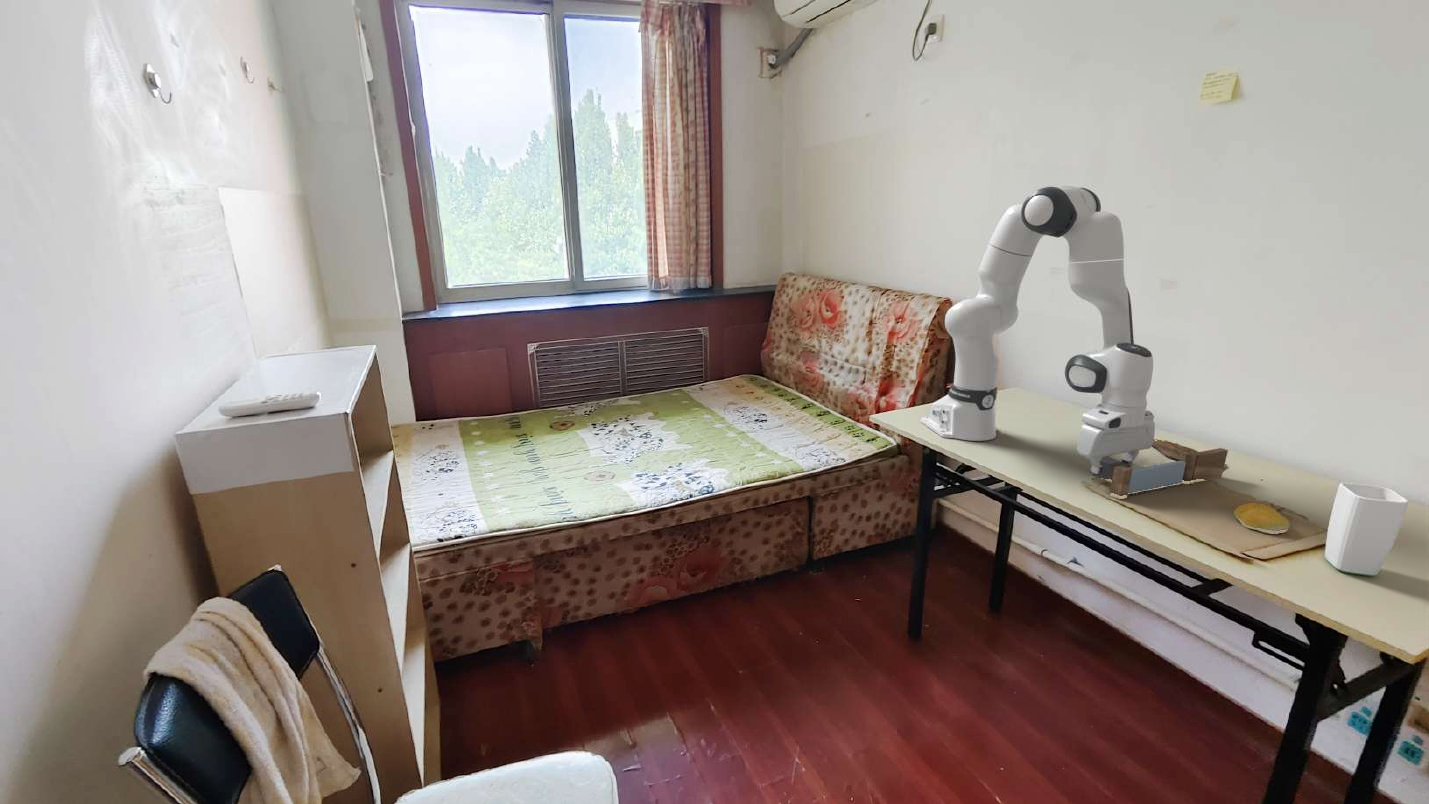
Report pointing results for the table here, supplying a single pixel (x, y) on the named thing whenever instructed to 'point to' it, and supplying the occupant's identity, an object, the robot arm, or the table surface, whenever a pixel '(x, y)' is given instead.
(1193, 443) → the table surface
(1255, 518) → the bread roll
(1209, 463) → the block
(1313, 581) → the table surface
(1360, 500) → the cup
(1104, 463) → the block
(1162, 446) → the wooden fragment
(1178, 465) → the gate
